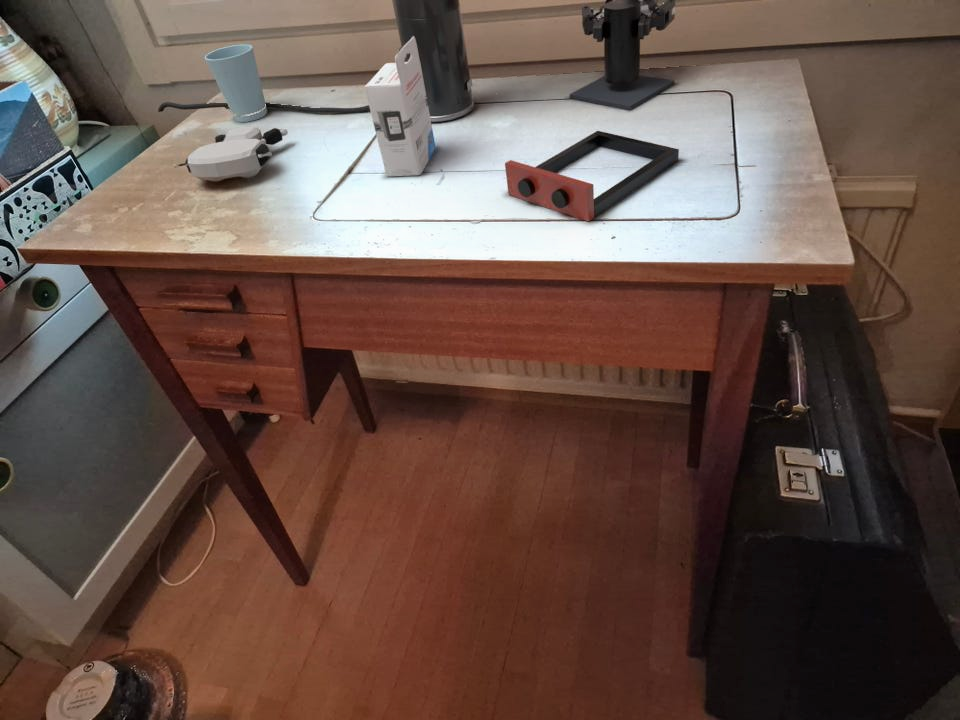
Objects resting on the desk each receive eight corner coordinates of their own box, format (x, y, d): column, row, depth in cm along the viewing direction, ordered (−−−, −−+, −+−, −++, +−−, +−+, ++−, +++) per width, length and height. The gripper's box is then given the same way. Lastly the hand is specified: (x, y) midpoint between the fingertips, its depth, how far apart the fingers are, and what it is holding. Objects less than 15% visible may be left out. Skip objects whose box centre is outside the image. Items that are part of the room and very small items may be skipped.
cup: (269, 120, 109) (246, 54, 102) (224, 127, 110) (198, 62, 103) (277, 105, 115) (256, 41, 108) (234, 111, 115) (211, 48, 109)
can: (605, 86, 95) (604, 11, 89) (604, 74, 99) (602, 1, 93) (640, 82, 95) (642, 6, 88) (637, 70, 98) (639, -4, 92)
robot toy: (221, 156, 102) (182, 194, 90) (211, 127, 99) (168, 162, 87) (297, 147, 101) (267, 185, 89) (288, 117, 98) (256, 151, 86)
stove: (503, 197, 77) (499, 165, 75) (597, 141, 86) (597, 111, 83) (583, 225, 70) (582, 191, 68) (678, 161, 78) (680, 128, 76)
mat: (569, 98, 99) (569, 94, 98) (614, 74, 104) (614, 70, 104) (630, 110, 92) (630, 106, 92) (674, 84, 97) (674, 80, 97)
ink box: (403, 149, 92) (379, 37, 83) (437, 148, 91) (416, 34, 82) (385, 177, 86) (356, 59, 77) (420, 176, 85) (395, 56, 75)
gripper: (585, -24, 102) (566, 7, 90) (682, -33, 98) (675, -2, 86) (587, 28, 107) (569, 64, 95) (679, 22, 103) (672, 58, 91)
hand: (620, 33), depth 91 cm, fingers closed on can, 5 cm apart
